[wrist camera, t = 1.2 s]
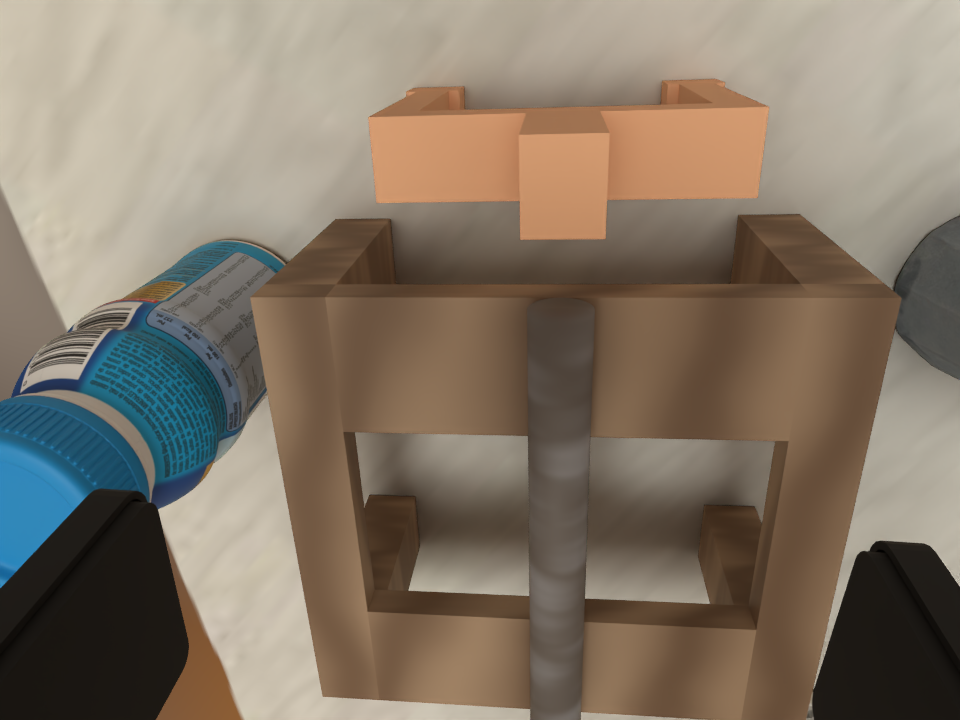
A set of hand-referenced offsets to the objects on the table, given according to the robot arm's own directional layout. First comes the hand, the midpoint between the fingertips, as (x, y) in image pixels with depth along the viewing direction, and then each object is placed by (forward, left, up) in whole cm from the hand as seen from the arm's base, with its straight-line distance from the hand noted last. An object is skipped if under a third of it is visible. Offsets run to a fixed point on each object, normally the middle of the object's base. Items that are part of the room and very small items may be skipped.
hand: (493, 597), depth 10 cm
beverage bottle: (+17, +7, -30) cm, 35 cm away
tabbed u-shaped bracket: (-1, -3, -30) cm, 30 cm away
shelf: (-1, +13, -30) cm, 33 cm away
